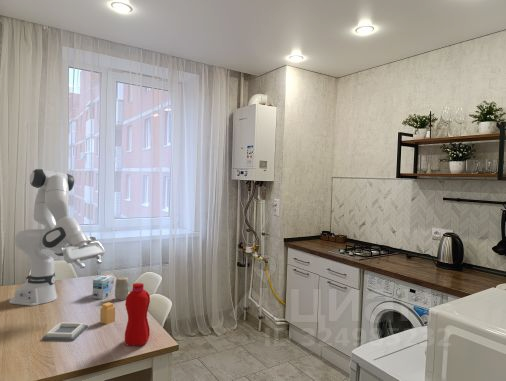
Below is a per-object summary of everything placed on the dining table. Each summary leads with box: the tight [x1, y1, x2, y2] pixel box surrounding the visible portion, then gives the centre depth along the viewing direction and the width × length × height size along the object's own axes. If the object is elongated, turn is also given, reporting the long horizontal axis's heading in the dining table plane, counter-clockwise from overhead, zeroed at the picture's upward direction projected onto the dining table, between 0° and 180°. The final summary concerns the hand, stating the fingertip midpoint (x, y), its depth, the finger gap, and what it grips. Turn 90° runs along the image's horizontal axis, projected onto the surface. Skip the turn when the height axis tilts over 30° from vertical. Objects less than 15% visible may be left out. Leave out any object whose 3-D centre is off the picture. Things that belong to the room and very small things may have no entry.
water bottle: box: [124, 282, 151, 347], centre depth 146 cm, size 9×11×25 cm
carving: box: [114, 276, 130, 301], centre depth 194 cm, size 6×8×12 cm
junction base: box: [41, 321, 88, 342], centre depth 151 cm, size 13×13×2 cm
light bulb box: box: [92, 274, 115, 300], centre depth 197 cm, size 11×7×11 cm, turn 168°
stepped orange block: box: [99, 301, 116, 325], centre depth 164 cm, size 5×5×9 cm
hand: (91, 265), depth 169 cm, fingers open, 8 cm apart
